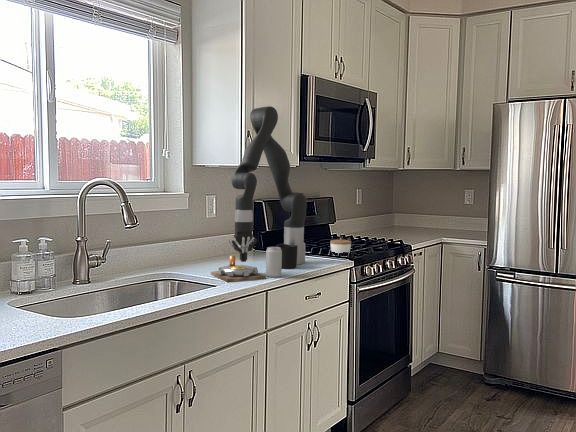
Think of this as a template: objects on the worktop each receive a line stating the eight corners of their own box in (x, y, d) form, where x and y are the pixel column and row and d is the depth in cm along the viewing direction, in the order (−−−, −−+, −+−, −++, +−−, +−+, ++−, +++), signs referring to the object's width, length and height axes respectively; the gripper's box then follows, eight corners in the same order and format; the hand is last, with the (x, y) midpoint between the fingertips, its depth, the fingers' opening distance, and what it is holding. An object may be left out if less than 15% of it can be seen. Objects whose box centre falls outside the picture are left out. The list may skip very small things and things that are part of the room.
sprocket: (247, 268, 236) (247, 254, 236) (264, 274, 222) (264, 260, 221) (212, 271, 228) (212, 256, 228) (227, 278, 214) (227, 262, 214)
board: (248, 271, 237) (248, 268, 237) (266, 278, 222) (266, 275, 222) (210, 274, 229) (210, 271, 228) (226, 282, 214) (226, 279, 214)
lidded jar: (326, 254, 286) (326, 237, 285) (343, 253, 291) (343, 236, 290) (337, 258, 277) (337, 239, 276) (354, 256, 282) (355, 238, 281)
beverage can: (268, 278, 223) (268, 248, 222) (264, 275, 229) (264, 246, 228) (283, 277, 225) (283, 248, 224) (279, 274, 231) (279, 246, 230)
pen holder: (293, 265, 254) (293, 243, 253) (300, 268, 245) (300, 246, 244) (273, 266, 251) (274, 244, 250) (279, 269, 242) (280, 247, 241)
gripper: (252, 219, 237) (252, 259, 239) (225, 220, 230) (225, 261, 231) (262, 220, 231) (261, 261, 232) (234, 221, 223) (233, 264, 225)
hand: (243, 261), depth 232 cm, fingers closed
